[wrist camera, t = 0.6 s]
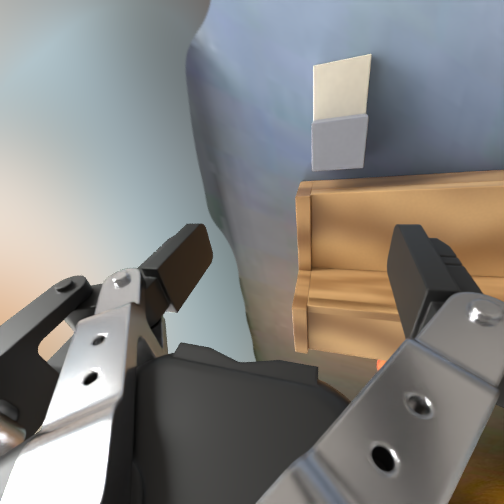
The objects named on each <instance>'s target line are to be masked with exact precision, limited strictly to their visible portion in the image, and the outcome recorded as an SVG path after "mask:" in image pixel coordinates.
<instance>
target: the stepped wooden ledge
mask: <svg viewBox="0 0 504 504" xmlns="http://www.w3.org/2000/svg"><path fill="white" fill-rule="evenodd" d="M295 198H296V218H297V239H298V260H299V273H298V278H297V284H296V289H295V295H294V300H293V305H292V316H293V329H294V342H295V351H296V352H301V353H308V348H309V349H313V350H320V351H326V352H333V353H339V354H346V355H352V356H359V357H365V358H371V359H378V360H384V361H387V360H388V359H389V358H390V357H391V356H392V354H393V353H394V352H395V351H396V350H397V349H398V347H399V346H400V345H401V344H402V343H403V342H404V341H405V340H406V339H405V335H404V332H403V328H402V324H401V321H400V317H399V314H398V310H397V307H396V303H395V299H394V296H393V292H392V289H391V285H390V281H389V278H388V274H387V259H388V254H389V249H390V244H391V239H392V235H393V230H394V227H395V225H396V224H420V225H421V226H422V227H423V229H424V231H425V232H426V234H427V236H428V237H429V238H438V239H439V240H441V241H442V242H444V243H445V244H447V245H449V246H450V247H451V249H452V250H453V251H454V253H455V254H456V256H457V258H459V260H460V261H461V263H462V266H464V267H465V268H466V270H467V271H468V273H469V274H470V275H471V277H472V278H473V280H474V281H475V282H476V284H477V285H478V287H479V288H480V290H481V291H482V292H483V294H485V295H488V296H491V297H494V298H497V299H499V300H501V301H503V302H504V170H490V171H473V172H456V173H439V174H422V175H405V176H388V177H371V178H354V179H337V180H320V181H304V182H300V185H299V188H298V191H297V194H296V197H295Z"/></svg>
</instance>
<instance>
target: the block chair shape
mask: <svg viewBox="0 0 504 504" xmlns="http://www.w3.org/2000/svg"><path fill="white" fill-rule="evenodd" d="M371 56H372V54H368V55H363V56H359V57H354V58H349V59H344V60H339V61H334V62H329V63H324V64H319V65H314V66H313V123H312V171H326V170H340V169H354V168H363V167H364V158H365V149H366V140H367V130H368V121H369V116H368V115H367V114H366V106H367V96H368V86H369V76H370V66H371Z"/></svg>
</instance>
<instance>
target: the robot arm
mask: <svg viewBox="0 0 504 504" xmlns="http://www.w3.org/2000/svg"><path fill="white" fill-rule="evenodd" d="M212 259H213V252H212V248H211V244H210V241H209V237H208V234H207V230H206V227H205V226H204V224H186V225H185V226H184V227H183V228H182V229H181V230H180V231H179V232H178V233H177V234H176V235H174V236H173V237H171V238H169V239H168V240H167V241H166V242H165V243H164V244H163V245H162V246H161V247H159V248H158V250H156V252H154V253H153V254H152V255H151V256H150V257H149V258H148V259H147V260H146V261H145V262H144V263H142V264H141V265H140V266H139V267H138V268H126V269H122V270H120V271H117V272H115V273H114V274H112V275H110V276H109V277H108V278H107V279H106V280H105V281H104V282H103V284H98V285H92V286H91V285H90V284H89V282H88V281H87V279H86V278H85V277H84V276H73V277H70V278H67V279H64V280H62V281H60V282H59V283H57V284H55V285H54V286H52V287H51V288H50V289H48V290H47V291H46V292H44V293H43V294H42V295H40V296H39V297H38V298H36V299H35V300H34V301H32V302H31V303H30V304H28V305H27V306H26V307H25V308H23V309H22V310H21V311H19V312H18V313H17V314H16V315H14V316H13V317H11V318H10V319H9V320H7V321H6V322H5V323H4V324H2V325H1V326H0V504H448V502H449V500H450V498H451V496H452V494H453V492H454V489H455V487H456V485H457V483H458V481H459V479H460V477H461V475H462V473H463V471H464V469H465V467H466V465H467V462H468V460H469V458H470V456H471V454H472V452H473V450H474V448H475V446H476V444H477V442H478V440H479V438H480V435H481V433H482V431H483V429H484V427H485V425H486V423H487V421H488V419H489V417H490V415H491V413H492V411H493V408H494V406H495V404H496V405H498V406H500V407H503V408H504V302H503V301H501V300H499V299H497V298H494V297H491V296H488V295H485V294H483V292H482V291H481V290H480V288H479V287H478V285H477V284H476V282H475V281H474V280H473V278H472V277H471V275H470V274H469V273H468V271H467V270H466V268H465V267H464V266H462V263H461V261H460V260H459V258H457V256H456V254H455V253H454V251H453V250H452V249H451V247H450V246H449V245H447V244H445V243H444V242H442V241H441V240H439V239H438V238H429V237H428V236H427V234H426V232H425V231H424V229H423V227H422V226H421V225H420V224H396V225H395V227H394V230H393V235H392V239H391V244H390V249H389V254H388V259H387V274H388V278H389V281H390V285H391V289H392V292H393V296H394V299H395V303H396V307H397V310H398V314H399V317H400V321H401V324H402V328H403V332H404V335H405V339H406V340H405V341H404V342H403V343H402V344H401V345H400V346H399V347H398V349H397V350H396V351H395V352H394V353H393V354H392V356H391V357H390V358H389V359H388V360H387V361H386V362H385V364H384V365H383V366H382V367H381V368H380V369H379V371H378V372H377V373H376V374H375V375H374V376H373V377H372V379H371V380H370V381H369V382H368V383H367V384H366V386H365V387H364V388H363V389H362V390H361V391H360V392H359V394H358V395H357V396H356V397H355V398H354V399H353V401H352V402H351V401H350V400H349V399H348V398H347V397H345V396H344V395H343V394H342V393H340V392H339V391H338V390H336V389H335V388H333V387H332V386H330V385H328V384H327V383H325V382H323V381H321V380H318V367H315V366H309V365H304V364H298V363H293V362H287V361H282V360H273V361H259V362H237V361H235V360H233V359H231V358H229V357H227V356H225V355H224V354H221V353H220V352H217V351H216V350H214V349H212V348H209V347H204V346H198V345H192V344H187V343H180V344H179V346H178V348H177V349H176V351H175V353H171V354H168V347H167V337H166V324H165V319H164V317H163V314H164V313H165V311H166V312H173V313H178V311H179V309H180V308H181V307H182V305H183V303H184V302H185V301H186V299H187V298H188V296H189V295H190V293H191V292H192V290H193V289H194V288H195V286H196V285H197V283H198V282H199V280H200V279H201V277H202V276H203V274H204V273H205V271H206V270H207V269H208V267H209V266H210V264H211V262H212ZM63 320H65V322H66V323H67V324H68V325H69V326H70V327H71V328H72V330H73V331H74V334H73V336H72V337H71V338H70V339H69V340H68V341H67V342H66V343H65V344H64V345H63V346H62V347H61V348H60V349H59V350H58V351H57V352H56V353H55V354H54V355H53V356H52V357H51V358H50V359H49V360H48V361H47V362H46V361H45V360H44V359H43V358H42V357H41V356H40V355H39V354H38V346H39V344H40V342H41V341H42V340H43V338H45V337H46V336H47V335H48V334H49V333H50V332H51V331H52V330H53V329H54V328H55V327H56V326H58V325H59V324H60V323H61V322H62V321H63ZM42 424H43V426H42V428H41V430H40V431H39V432H37V433H36V431H37V430H38V429H39V428H40V426H41V425H42ZM35 433H36V434H35Z"/></svg>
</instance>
